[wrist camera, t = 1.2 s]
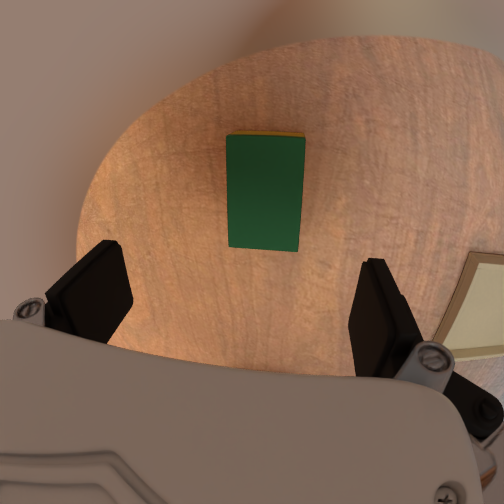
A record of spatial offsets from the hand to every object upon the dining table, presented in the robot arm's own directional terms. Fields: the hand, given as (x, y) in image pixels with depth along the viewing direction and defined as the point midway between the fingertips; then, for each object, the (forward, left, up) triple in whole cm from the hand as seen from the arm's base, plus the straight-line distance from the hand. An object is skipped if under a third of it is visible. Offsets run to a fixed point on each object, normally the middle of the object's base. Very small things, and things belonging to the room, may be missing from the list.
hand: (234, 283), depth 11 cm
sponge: (0, 0, -13) cm, 13 cm away
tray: (+11, +28, -13) cm, 33 cm away
